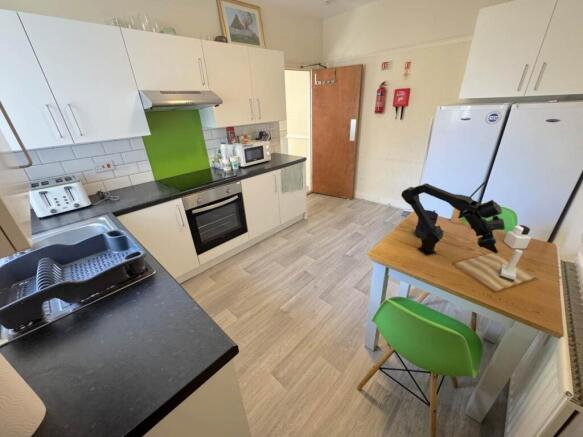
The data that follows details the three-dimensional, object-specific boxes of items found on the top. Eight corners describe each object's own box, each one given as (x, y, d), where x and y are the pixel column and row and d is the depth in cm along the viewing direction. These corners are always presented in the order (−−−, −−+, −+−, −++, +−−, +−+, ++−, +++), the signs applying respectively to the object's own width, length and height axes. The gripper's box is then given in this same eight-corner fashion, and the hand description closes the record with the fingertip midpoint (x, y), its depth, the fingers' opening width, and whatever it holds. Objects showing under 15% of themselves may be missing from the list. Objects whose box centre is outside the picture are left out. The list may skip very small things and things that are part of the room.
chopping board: (494, 292, 104) (495, 289, 104) (454, 264, 121) (455, 262, 121) (535, 278, 111) (536, 276, 110) (491, 254, 128) (492, 252, 127)
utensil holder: (470, 226, 155) (486, 182, 141) (450, 224, 157) (464, 181, 143) (462, 218, 164) (477, 176, 150) (444, 217, 166) (457, 176, 152)
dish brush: (513, 282, 107) (526, 257, 101) (499, 277, 110) (511, 253, 104) (513, 273, 113) (526, 248, 106) (500, 268, 116) (511, 244, 109)
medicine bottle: (516, 241, 137) (525, 223, 132) (526, 249, 131) (535, 230, 125) (503, 241, 138) (511, 223, 132) (512, 248, 132) (521, 229, 126)
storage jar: (410, 233, 149) (416, 207, 141) (421, 229, 152) (428, 204, 144) (424, 241, 141) (431, 214, 133) (435, 237, 144) (443, 210, 136)
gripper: (498, 222, 98) (521, 252, 98) (494, 205, 112) (514, 231, 112) (468, 233, 105) (489, 261, 105) (468, 216, 119) (487, 240, 119)
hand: (496, 247), depth 110 cm, fingers open, 9 cm apart
